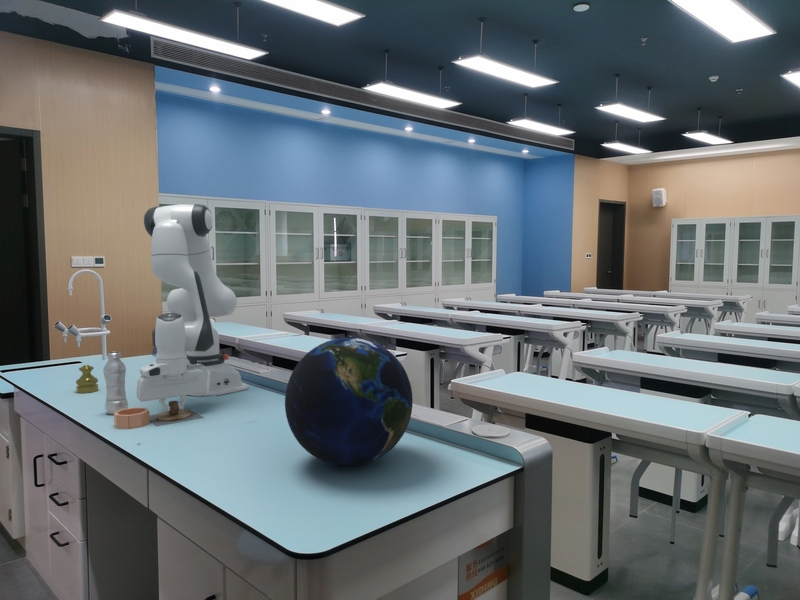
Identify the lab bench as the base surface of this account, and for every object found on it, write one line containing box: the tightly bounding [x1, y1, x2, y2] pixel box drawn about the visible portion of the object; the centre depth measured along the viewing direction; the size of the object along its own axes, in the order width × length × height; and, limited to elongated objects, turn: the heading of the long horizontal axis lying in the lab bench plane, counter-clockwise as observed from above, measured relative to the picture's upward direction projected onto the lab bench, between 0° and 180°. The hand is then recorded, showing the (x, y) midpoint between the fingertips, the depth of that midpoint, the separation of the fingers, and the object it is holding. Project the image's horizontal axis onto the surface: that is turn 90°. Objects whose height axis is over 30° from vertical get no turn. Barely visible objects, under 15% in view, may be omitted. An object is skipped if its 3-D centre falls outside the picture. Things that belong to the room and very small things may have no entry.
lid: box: [156, 400, 191, 421], centre depth 177 cm, size 10×10×5 cm
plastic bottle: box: [102, 351, 129, 416], centre depth 182 cm, size 6×7×20 cm
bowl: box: [113, 407, 151, 430], centre depth 170 cm, size 9×9×4 cm
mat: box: [149, 408, 205, 427], centre depth 177 cm, size 14×14×1 cm
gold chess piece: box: [75, 364, 99, 394], centre depth 216 cm, size 7×7×10 cm
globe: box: [284, 336, 413, 467], centre depth 136 cm, size 30×30×30 cm
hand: (173, 410), depth 177 cm, fingers closed on lid, 3 cm apart
